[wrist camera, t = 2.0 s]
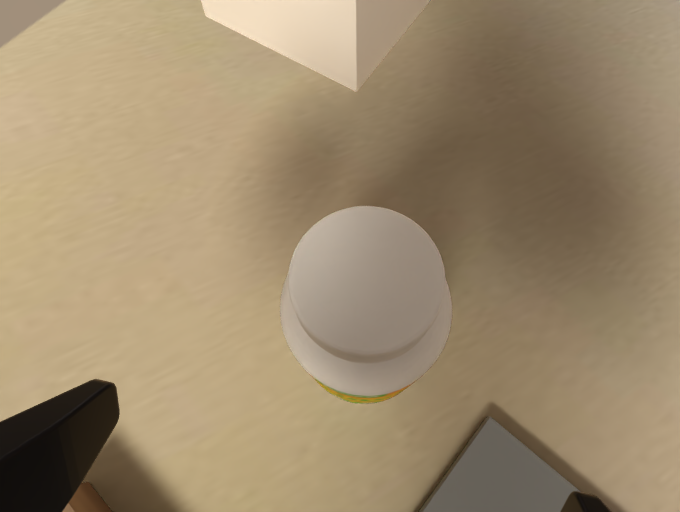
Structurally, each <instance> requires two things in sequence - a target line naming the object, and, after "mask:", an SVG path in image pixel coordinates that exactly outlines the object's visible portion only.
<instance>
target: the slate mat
mask: <svg viewBox="0 0 680 512" xmlns="http://www.w3.org/2000/svg"><path fill="white" fill-rule="evenodd" d="M573 491H578V492H580V491H579V490H578V489H577V488H576V487H574V486H573V485H572V484H571V483H569V482H568V481H567V480H566V479H565V478H563V477H562V476H561V475H560V474H559V473H557V472H556V471H555V470H554V469H553V468H551V467H550V466H549V465H548V464H547V463H545V462H544V461H543V460H542V459H541V458H539V457H538V456H537V455H536V454H535V453H533V452H532V451H531V450H530V449H529V448H527V447H526V446H525V445H524V444H523V443H521V442H520V441H519V440H518V439H517V438H515V437H514V436H513V435H512V434H510V433H509V432H508V431H507V430H506V429H504V428H503V427H502V426H501V425H500V424H498V423H497V422H496V421H495V420H494V419H492V418H491V417H486V418H485V420H484V421H483V423H482V424H481V425H480V427H479V428H478V430H477V431H476V432H475V434H474V435H473V437H472V438H471V439H470V441H469V442H468V443H467V445H466V446H465V448H464V449H463V450H462V452H461V453H460V455H459V456H458V457H457V459H456V460H455V462H454V463H453V464H452V466H451V467H450V469H449V470H448V471H447V473H446V474H445V476H444V477H443V478H442V480H441V481H440V483H439V484H438V485H437V487H436V488H435V490H434V491H433V492H432V494H431V495H430V497H429V498H428V499H427V501H426V502H425V504H424V505H423V506H422V508H421V509H420V511H419V512H560V511H561V509H562V508H563V506H564V504H565V502H566V500H567V498H568V496H569V494H570V493H571V492H573Z"/></svg>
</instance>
